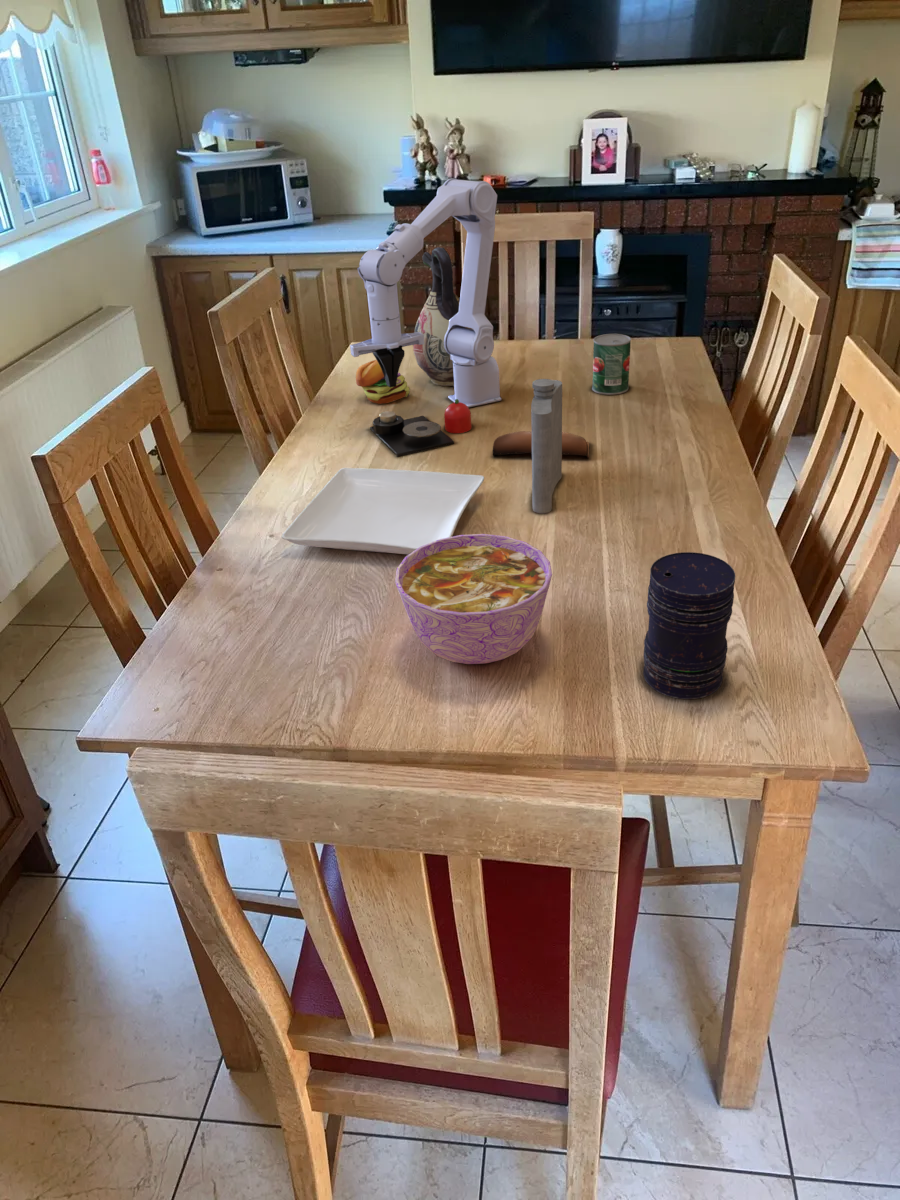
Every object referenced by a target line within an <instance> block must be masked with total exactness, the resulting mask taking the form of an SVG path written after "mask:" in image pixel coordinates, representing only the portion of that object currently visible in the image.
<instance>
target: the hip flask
mask: <svg viewBox="0 0 900 1200" xmlns="http://www.w3.org/2000/svg"><path fill="white" fill-rule="evenodd" d="M531 383H532V386H531V387H532V389H533V397H532V400H531V405H530V408H531V409H530V411H531V412H530V413H531V415H530V417H531V418H530V419H531V420H530V421H531V431H532V453H531V489H532V490H531V495H532V496H531V499H532V501H531V502H532V506H531V507H532V511H533V512H534V513H537V514H548V513H550V512H551V511H552V509H553V506H552V503H553V500H552V499H553V494H554V490H555V489H556V486H557V485H558V483H559V481H560V480H561V479H562V475H563V474H562V473H563V472H562V471H563V470H562V469H563V466H562V465H563V463H562V462H563V454H562V432H563V382H562V381H561V380H558V379H550V378H538V379H535V380H533V381H532V382H531Z"/></svg>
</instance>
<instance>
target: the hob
mask: <svg viewBox="0 0 900 1200" xmlns="http://www.w3.org/2000/svg"><path fill="white" fill-rule="evenodd" d="M421 421H429V422H431V420H429V419H428V418H427V417H426V416H424V415H420V416H414V417H411V418H406V419H404V418H403V417H402V416H401V415H399V414H396V422H394V423H391V424H383V423H380V415H379V416H377V417H376V418H374V419H373V420H372V426H369V430H370V432H371V433H373V434H374V435H375V436H376V437H377V438H378V439H379V441H381V442H382V443H383V444H384V445H385V447H387V448H388V449H389V450H390V451H391V452H392V454H394V455H395V456H396V457H403V456H407V455H411V454H417V453H420V452H425V451H428V450H433V449H438V448H442V447H447V446H450V445H455V441H454V439H452V438H450V436H448V435H447V434H446V433H445V432H444V431H442V430H440V431H439V432H438V433H437V434H435V435H432V436H427V437H411V436H407V435H405V434H404V433H403V428H404V427H405V426H406V425H408V424H411V423H414V422H421Z"/></svg>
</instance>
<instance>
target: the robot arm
mask: <svg viewBox="0 0 900 1200" xmlns="http://www.w3.org/2000/svg"><path fill="white" fill-rule="evenodd" d="M497 201H498V194H497V193H496V191H495V190H494V188H493V186H492V184H491V183H489V181H486V180H479V181H477V180H465V179H457V178H453V177H452V178H448V179H446V180H445V182H443V184H442V185H440V186H439V187H438V188H437V191H436V196H434V198H433V199H432V200H431V201H430V202H429V203H428V205H426V207H425V208H424V209H423V210H422V211H421V212H420V213H419V214H418V215H417V217H416V218H415V219H413V221H412V222H411V223H408V222H407V223H402V224H396V226H395V227H394V229H393V230H394V231H393V232H392V233H391V234H390V235H388V236H387V237H386V239H384V240H383V241H380V242H379V243H378V246H377V247H376V248H375V249H369V250H367V251H365V252H364V254H363V255H362V256H361V258H360V260H359V267H357V273H358V275H359V277H360V278H361V280H362V281H363V284H364V289H365V290H366V294H367V295H366V296H367V305H368V314H369V323H370V333H371V338H369V339H366V340H363V341H360V342H357V343H353V344H349V348H350V355H351V356H352V357H353V358H358V357H360V356H362V355H363V356H364V355H368V354H372V355H373V357H374V358H375V360H377V361H378V363H379V365H380V367H381V369H382V372H383V374H384V377H385V380H386V384H387V386H389V387H395V386H396V383H397V376H398V373H399V371H400V369H401V368H400V367H401V364H402V362H403V360H404V358H405V354H406V353H405V350H404V349H403V348H404V347H408V346H409V347H410V346H413V345H415V344H419V345H421V344H424V336H423V334H422V333H420V332H416V333H414V332H408V333H402V327H401V316H400V315H401V314H400V306H399V305H400V304H399V295H398V294H399V293H398V292H399V291H398V282H399V281H400V280H401V278H402V275H403V271H404V269H405V268H406V265H407V264H408V263H409V262H410V261H411V260H412V259H413V258H415V256H416V255H417V254H418V253H420V251H421V250H422V249H423V248H424V238H426V237H427V236H429V235H430V234H431V233H433V231H435V230H436V229H437V228H438V227H439V226H440V225H441V224H443V223H444V222H445V221H446V220H448V219H449V218H450V217H453V218H454V219H455V220H457V222H460V224H461V226H462V227H463V228H464V230H465V231H466V241H465V250H464V258H463V267H462V276H461V286H460V297H459V300H460V303H459V312H458V313H457V314H456V315H455V316H453V317H452V318H451V319H450V320H449V327H448V330H447V332H446V334H445V337H444V347H445V350H446V352H447V353H448V354H450V359H451V360H453V374H454V386H453V387H454V390H453V391H454V393H453V394H449V395H448V396H447V399H449V400H450V401H451V402H452V403H454V402H455V399H458V400H459V402H461V403H463V404H465V405H466V406H467V407H468V408H472V407H477V406H482V405H487V404H491V403H496V402H500V401H502V397H501V388H500V385H501V383H500V368H499V364H498V362H497V360H496V358H495V357H494V356H492V355H493V352H494V349H495V339H494V326H493V324H492V322H491V321H490V320H489V319H488V317H487V316H486V314H485V313H486V305H487V298H488V297H487V296H488V289H489V279H490V272H491V263H492V255H493V247H494V241H495V239H494V238H495V230H496V210H497ZM466 327H468V328H466ZM469 328H472V329H469Z"/></svg>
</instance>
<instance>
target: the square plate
mask: <svg viewBox="0 0 900 1200" xmlns="http://www.w3.org/2000/svg"><path fill="white" fill-rule="evenodd" d="M484 481H485V476H484V475H481V474H468V473H455V472H442V471H428V470H427V471H426V470H412V469H411V470H409V469H390V468H367V467H365V468H363V467H342V468H339V470H338V471H337V472H336V473H335V474H334V475H333V476H332V477H331V478H330V479H329V480H328V482H327V483H326V484H325V485H324V486H323V487H322V488H321V490H320V491H319V492H317V494H316V495H315V496H314V497H313V498H312V500H310V502H309V503H308V504H307V505H306V506H305V508H303V510H302V511H301V512H300V513H299V514H298V515H297V516H296V518H294V520H293V521H292V522H291V524H289V525H288V527H287V528H286V529H285V530H284V531H283V533H282V535H281V539H283V540H286V541H288V542H290V543H292V544H295V545H299V546H304V547H316V548H327V549H333V550H334V549H335V550H346V551H347V550H348V551H360V552H361V551H362V552H371V553H375V552H376V553H386V554H397V555H409V554H410V553H412V552H413V551H415V550H416V549H418V548H419V547H421V546H424V545H426V544H429V543H431V542H434V541H436V540H439V539H444V538H449V537H453V535H454V532H455V530H456V528H457V526H458V523H459V521H460V519H461V517H462V515H463V513H464V512H465V509H466V508H467V506H468V504H469V503H470V502H471V500H472V499H473V498H474V496H475V495H476V493H477V491H478V490H479V489H480V487H481V486H482V484H483V483H484Z"/></svg>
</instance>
